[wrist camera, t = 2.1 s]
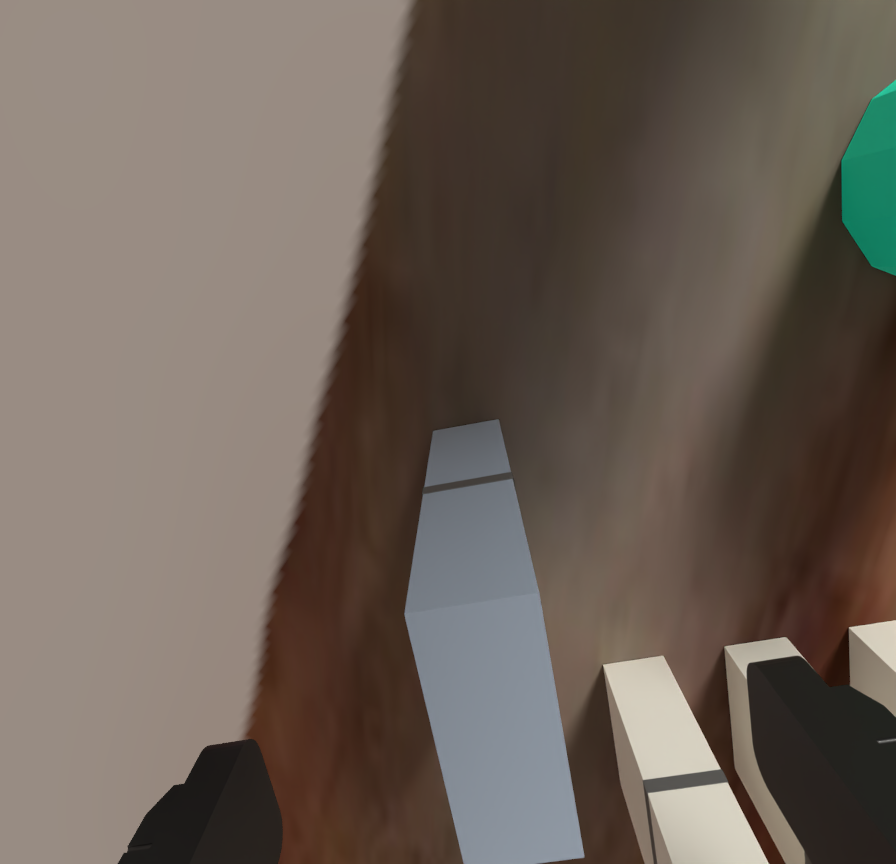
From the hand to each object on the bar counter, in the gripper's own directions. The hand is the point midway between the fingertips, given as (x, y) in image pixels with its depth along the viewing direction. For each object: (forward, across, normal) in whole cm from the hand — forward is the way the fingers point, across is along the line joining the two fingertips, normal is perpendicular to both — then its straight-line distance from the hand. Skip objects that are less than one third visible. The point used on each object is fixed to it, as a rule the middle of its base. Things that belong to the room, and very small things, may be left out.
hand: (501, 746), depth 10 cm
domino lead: (+10, 0, 0) cm, 10 cm away
